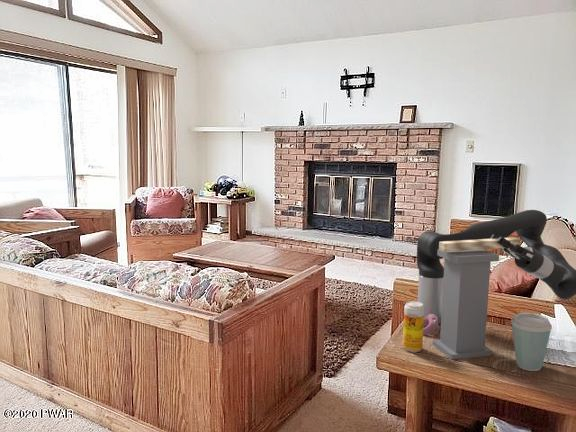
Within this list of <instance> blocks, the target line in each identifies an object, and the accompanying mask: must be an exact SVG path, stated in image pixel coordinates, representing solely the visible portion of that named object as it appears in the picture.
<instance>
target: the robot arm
mask: <svg viewBox="0 0 576 432" xmlns="http://www.w3.org/2000/svg"><path fill="white" fill-rule="evenodd" d="M547 219H548V218H547V215H546V213H544V212H543V211H540V210H538V209H526V210H523V211H519V212H517V213H514V214H511V215H508V216H504V217H500V218H496V219H492V220H491V219H490V220H486V221H481V222H477V223H474V224H472V225H469V226H467V228H465V229H463V231H460V232H455V233H454V232H453V233H449V234H443V233H439V232H435V231H432V230H426V231H424V232H422V233H421V234H420V235H419V237H418V239H417V244H416V264H417V265H416V266H417V268H418V285H417V302H420V303H422V304H423V306H424V318H425V317H427V316H428V315H429V314H434V315H436V316H437V318H438V323H439V324H441V315H442V296H443V278H444V265H443V264H442V262H441V260H442V259H444V258H443V257H440V256H438V255H437V251H438V249H439V242H443V241H460V240H477V239H494V238H499V239H498V241H497V242H498V243H499V244H500V245H502V246H503V247H505V248H498V249H499V251H501V252H502V253H506V254H507V255H508V256H509V257H511V258H513V259H514V263H515V265H516V267H518V268H519V269H521V270H522V271H524V272H526V273H528V274H529V275H530V276H533V277H534V278H537V279H538V280H540V281H542V282H543V283H545V284H546V285H547V286H548V287H549V288H550V290H552V292H553V294H554V295H555V296H556V297H558V299H561V300H569V299H571V298H573V297H574V296H576V269H575V268H574V267H573V266H571V264H570V263H569V262H568V261H567V260H566V258H565V257H564V255H563V254H562V253H561V251H560V250H559V249H558V248H556V247H554V246H551V245H548V244H545V243H544V241H543V239H542V234H543V232H544V230H545V228H546V225H547ZM514 233H516V235H517V236H518V237H519V239H520V240H521V241H522V242H523V243H524V244H525V245H526V246H525V247H523V246H522V245H520V244H519V245H518V244H514V243H513V242H510V241H508V240H506V239H505V238H509V237H510V236H511V235H512V234H514Z"/></svg>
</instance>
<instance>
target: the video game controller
mask: <svg viewBox="0 0 576 432" xmlns="http://www.w3.org/2000/svg"><path fill="white" fill-rule="evenodd" d="M439 324H440V323H438V318H437V316H436V315H434V314H429V315H428V316H427V317H425V318H424V325H423V336H428V335H430V334H432V333H433V332H435V331H436V330H438V329H439V328H440V327H439Z"/></svg>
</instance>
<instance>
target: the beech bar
mask: <svg viewBox="0 0 576 432" xmlns="http://www.w3.org/2000/svg"><path fill="white" fill-rule="evenodd" d="M498 239H499V238H494V239H477V240H460V241H443V242H439V250H441V251H443V252H449V251H465V250H480V249H484V250H492V249H494V250H495V249H496V250H497V249H499V248H505V247H503V246H502V245H500V244H499V243H498V242H497V241H498ZM505 239H506V240H508V241H510V242H513V243H514V244H518V245H520V240H521V239H520V238H516V237H510V236H509V237H507V238H505Z"/></svg>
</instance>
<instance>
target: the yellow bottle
mask: <svg viewBox="0 0 576 432" xmlns="http://www.w3.org/2000/svg"><path fill="white" fill-rule="evenodd" d="M403 310H404V311H403V312H404V313H403V330H402V331H403V332H402V347H403V348H404V350H406V351H407V352H409V351H410V352H409V353H419V352H421V350H422V349H423V342H424V335H423V329H424V326H423V325H424V306H423V304H422V303H420V302H418V301H415V300H413V301H411V300H409V301H406V303H405V305H404V309H403Z"/></svg>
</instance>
